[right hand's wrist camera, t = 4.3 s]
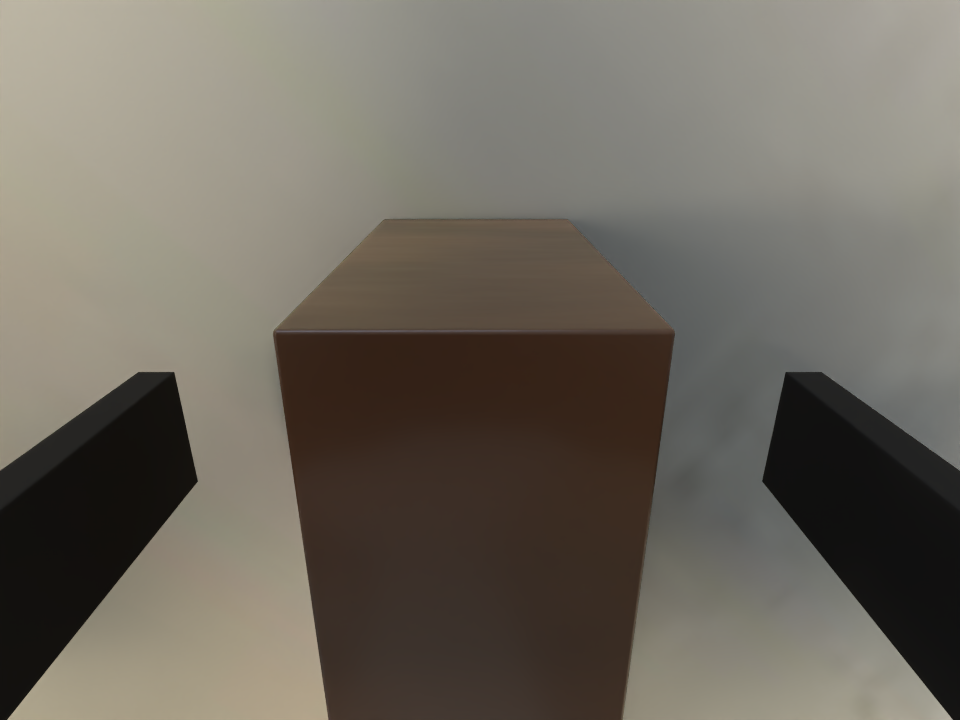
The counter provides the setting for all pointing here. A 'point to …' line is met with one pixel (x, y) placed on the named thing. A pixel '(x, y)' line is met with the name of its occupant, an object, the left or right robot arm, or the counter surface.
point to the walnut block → (474, 469)
